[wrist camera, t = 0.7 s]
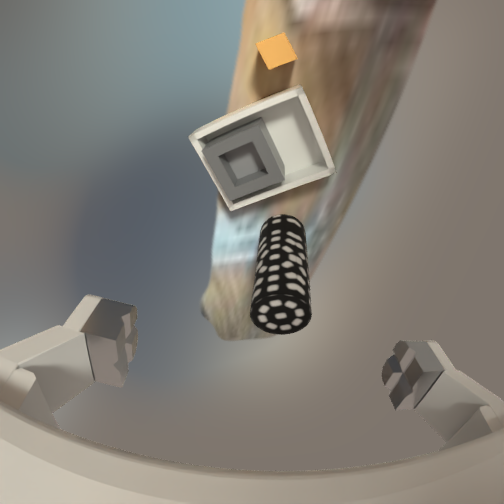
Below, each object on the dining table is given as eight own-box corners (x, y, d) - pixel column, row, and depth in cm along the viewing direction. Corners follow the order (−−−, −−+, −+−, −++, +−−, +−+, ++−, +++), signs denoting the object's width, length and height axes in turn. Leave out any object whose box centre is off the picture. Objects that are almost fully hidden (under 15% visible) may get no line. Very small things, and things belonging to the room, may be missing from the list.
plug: (283, 36, 35) (284, 32, 30) (295, 58, 37) (297, 58, 32) (259, 46, 37) (255, 43, 31) (270, 68, 39) (268, 69, 33)
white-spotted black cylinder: (299, 209, 53) (304, 288, 37) (309, 246, 57) (316, 329, 41) (254, 220, 55) (241, 300, 39) (268, 255, 60) (260, 337, 44)
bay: (300, 84, 40) (302, 88, 34) (332, 162, 47) (339, 178, 42) (196, 129, 45) (184, 140, 40) (234, 198, 53) (228, 217, 47)
